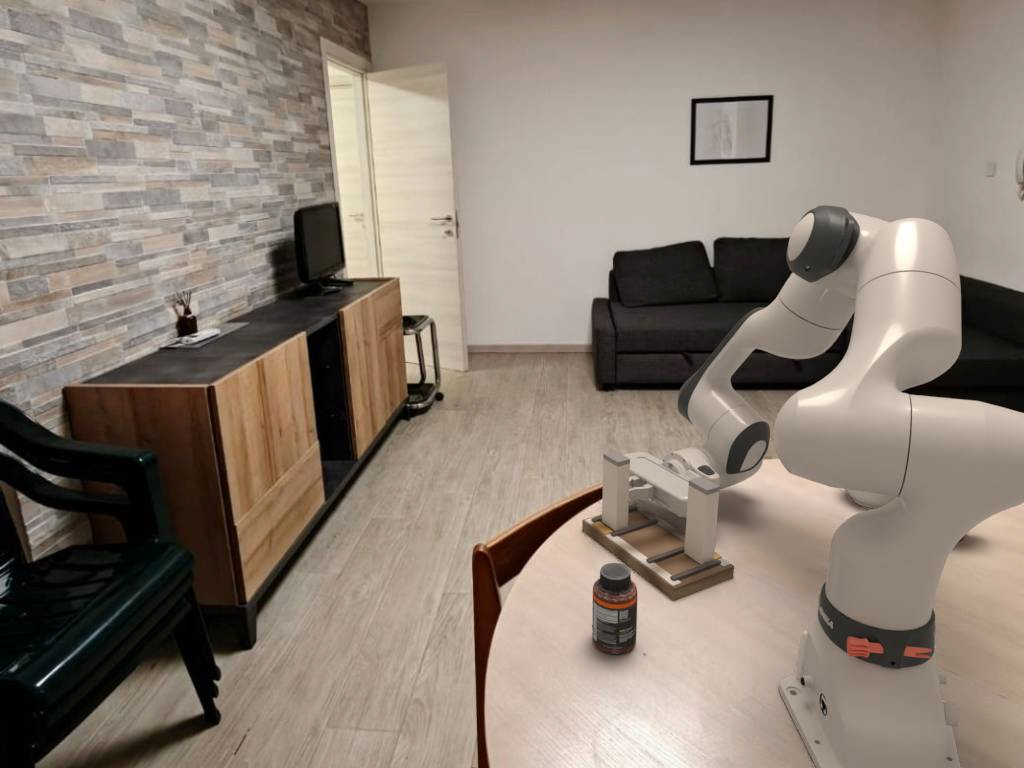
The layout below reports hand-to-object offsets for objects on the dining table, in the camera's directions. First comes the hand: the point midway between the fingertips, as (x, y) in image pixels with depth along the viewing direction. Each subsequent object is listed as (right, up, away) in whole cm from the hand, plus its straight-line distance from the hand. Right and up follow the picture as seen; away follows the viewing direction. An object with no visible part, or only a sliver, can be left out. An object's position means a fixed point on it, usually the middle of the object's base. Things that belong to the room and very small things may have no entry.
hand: (621, 492), depth 124 cm
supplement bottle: (-5, -17, -24) cm, 30 cm away
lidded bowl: (+49, -3, +13) cm, 51 cm away
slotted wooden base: (+5, -9, -3) cm, 11 cm away
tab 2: (+11, -9, -9) cm, 16 cm away
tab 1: (-1, -6, +1) cm, 6 cm away
